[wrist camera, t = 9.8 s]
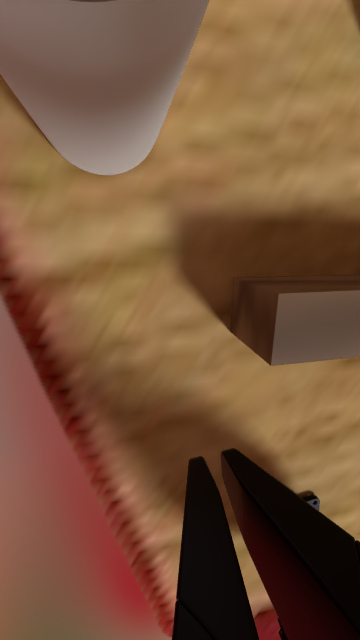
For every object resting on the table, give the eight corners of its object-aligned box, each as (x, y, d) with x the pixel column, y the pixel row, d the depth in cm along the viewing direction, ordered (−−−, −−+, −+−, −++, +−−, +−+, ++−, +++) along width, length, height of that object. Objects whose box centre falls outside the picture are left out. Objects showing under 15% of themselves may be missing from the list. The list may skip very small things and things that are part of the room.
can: (92, 2, 14) (-40, -1156, 2) (182, 118, 16) (342, -181, 5) (7, 104, 14) (-456, -453, 3) (107, 202, 16) (82, 123, 5)
